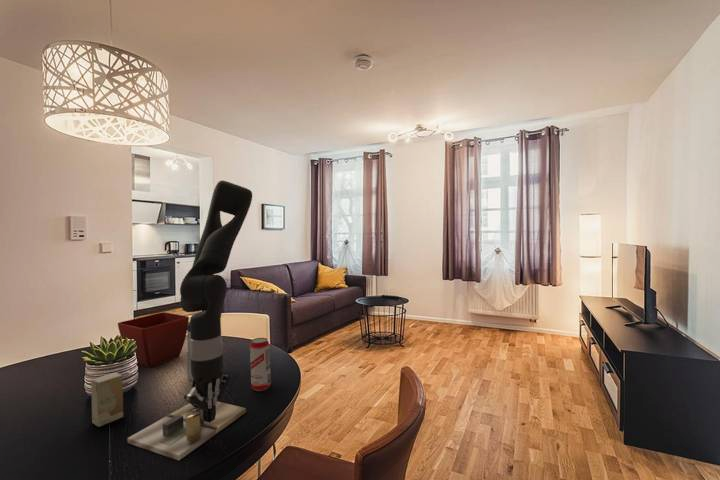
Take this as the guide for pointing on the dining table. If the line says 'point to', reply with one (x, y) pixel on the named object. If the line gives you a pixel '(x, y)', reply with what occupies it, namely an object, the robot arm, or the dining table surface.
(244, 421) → the dining table surface
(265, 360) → the beer can
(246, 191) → the robot arm
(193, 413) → the latch arm
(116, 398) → the skincare box
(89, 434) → the dining table surface
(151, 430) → the door board
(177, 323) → the plant pot
